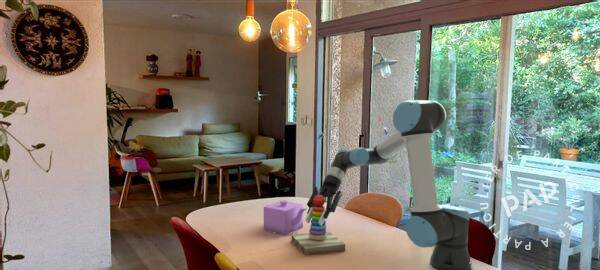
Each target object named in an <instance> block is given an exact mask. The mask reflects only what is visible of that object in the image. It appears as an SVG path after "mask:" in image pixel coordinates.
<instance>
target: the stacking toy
mask: <svg viewBox="0 0 600 270" xmlns="http://www.w3.org/2000/svg"><path fill="white" fill-rule="evenodd" d="M325 198H326V197H325ZM325 198H324V197H323V195H319V194H318V195H316V196H315V197H314V199H313V202H314V204H315V206H314V207H313V210H314V211H313V212H312V214H313V215H312V218H311V220H310V223H311V224H310V228H309V230H308V233H309V237H310V238H311V239H314V240H323V239H325V238H327V234H326V231H327V221H326V220H325V221H324V223H323V225H322V226H320V225H319V223H318V222H319V219H320V217H321V215H322V213H323V211H324V210H326V207H325V206H324V205H325V203H326V199H325Z"/></svg>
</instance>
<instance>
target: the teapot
mask: <svg viewBox="0 0 600 270" xmlns="http://www.w3.org/2000/svg"><path fill="white" fill-rule="evenodd" d="M305 211H308V208H305V207H304V204H302V203H297V202H292V201H291V202H290V201H288V200H279V201H277V202H274V203H271V204H266V205H265V206H263V231H264V230H267V231H266V232H268V231H271V232H270V233H273V232H275V233H274V234H277V233H278V235H281V234H283V235H282V236H287V235H290V234H291V232H292V233H293V232H296V231H299V230H301V229H302V228H304V212H305ZM289 233H290V234H289Z"/></svg>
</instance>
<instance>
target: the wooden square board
mask: <svg viewBox="0 0 600 270" xmlns="http://www.w3.org/2000/svg"><path fill="white" fill-rule="evenodd" d="M309 233H310V232H307V233H304V232H303V233H295V234H291V242H292V243H293V245H294V246H296V247H297V249H298V250H299V251H300V252H301V253H302V254H303V255H304V256H311V255H319V254H328V253H338V252H339V253H340V252H345V251H346V243H344V241H342V240H341V239H339V238H338V237H337V236H335V234H333V233H331V231H329V230H326V234H327V238H325V239H323V240H314V239H311V238H310V237H309Z"/></svg>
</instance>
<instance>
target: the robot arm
mask: <svg viewBox="0 0 600 270" xmlns="http://www.w3.org/2000/svg"><path fill="white" fill-rule="evenodd" d="M392 115H393V116H392V124H393V126H394V128H395V129H396V130H397V131H396V132H394V133H393V134H391V135H390V136H388V137H387V138H386V139H384V140H382V141H381V142H379V144H377V145H376V146H374V147H372V148H371V147H370V148H365V147H356V148H354V149H351V150H348V149H346V148H345V149H343V148H341V149H339V150H338V151H337V152H336V154H335V156H334V159H333V161H332V163H331V165H330V168H329V169H328V172H327V173H326V176H325V178H324V180H323V182H322V185H321V186H320V187H317V186H315V187H314V188H313V192H312V194H311V195H310V198H309V199H308V201H307V203H306V206H307V207H308V209H307V212H306V214H307V215H306V217H305V222H306V223H307V224H310V223H311V220H312V215H313V214H312V212H313V211H314V210H313V207H314V206H315V204H314V202H313V199H314V197H315V196H316V195H322V196H323V197H324V198H327V201H326V207H325V210H324V211H323V213H322V215H321V217H320V219H319V222H318V223H319V225H320V226H322V225H323V223H324V221H326V220H327V219H328V217H329V215H330V214H331V213H335V212H336V209H337V207H338V204H339V201H340V199H341V197H343V193H342V190H340V187H341V184H342V182H343V180H344V178H345V176H346V174H347V171H348V169H352V168H355V167H362V166H369V165H371V166H373V165H381V164H382V165H383V164H386V163H388V161H389V160H390V157H392V156H394V155H395V154H397V153H398V152H400V151H402V150H403V149H405V148H406V153H407V158H408V159H407V160H408V168H409V176H410V184H411V191H412V192H411V193H412V194H411V195H412V202H413V206H411V208H410V210H409V211H410V217H409V218H407V221H406V223H405V232H406V235H407V236H408V239H409V240H410V241H411V242H412V243H413V245H415V246H417V247H418V248H432V247H434V248H433V249H432V253H431V255H430V258H429V260H430V261H429V262H430V265H431V266H432V267H434V268H436V269H438V270H470V269H471V270H472V264H473V263H472V259H471V255H470V252H469V249H468V244H469V243H468V241H469V223H470V213H469V212H470V211H468V210H467V209H466V208H463V207H460V206H456V205H449V204H448V205H447V204H439V202H438V196H437V189H436V188H437V187H436V179H435V172H434V165H433V163H434V162H433V156H432V149H431V140H430V139H431V138H432V137H433V135H434V133H435V132H436V131H438V130H439V129H440V128H442V126H444V124H445V122H446V120H447V119H446V118H447V113H446V109H445V107H443V105H442V104H441V103H440V102H439V101H435V100H424V99H423V100H420V99H418V100H417V99H409V100H405V101H402V102H400V103H398V105H397V106H396V108H394V111H393V114H392Z"/></svg>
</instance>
